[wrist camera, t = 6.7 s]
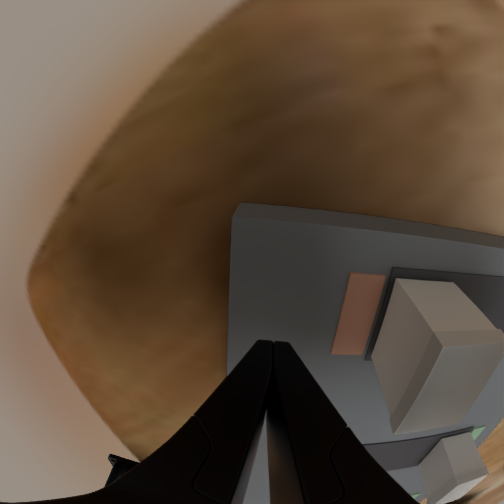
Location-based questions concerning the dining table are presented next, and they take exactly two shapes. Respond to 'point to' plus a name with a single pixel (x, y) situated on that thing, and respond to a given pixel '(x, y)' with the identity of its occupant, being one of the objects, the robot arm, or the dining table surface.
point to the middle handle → (452, 469)
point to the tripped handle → (433, 355)
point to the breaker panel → (353, 314)
